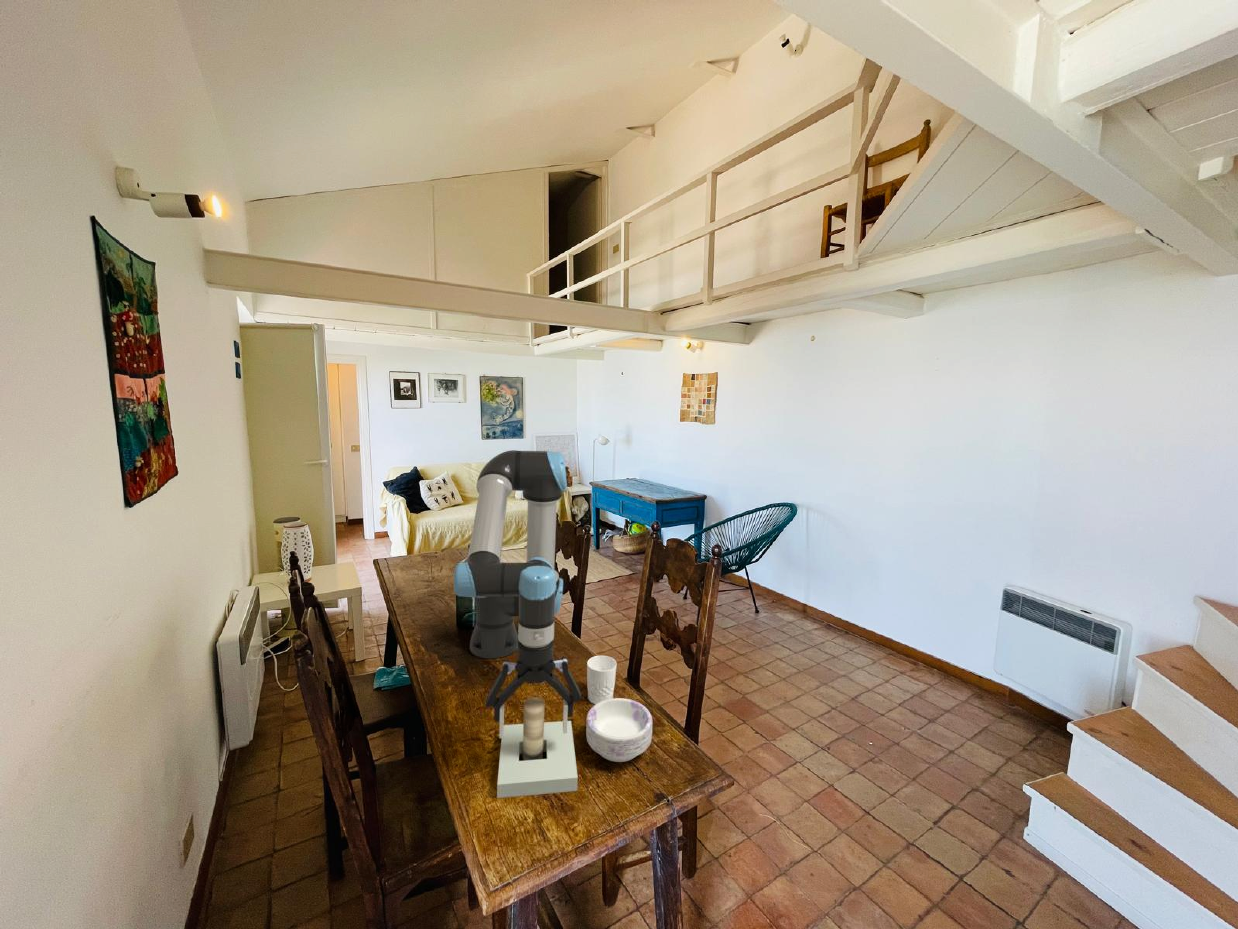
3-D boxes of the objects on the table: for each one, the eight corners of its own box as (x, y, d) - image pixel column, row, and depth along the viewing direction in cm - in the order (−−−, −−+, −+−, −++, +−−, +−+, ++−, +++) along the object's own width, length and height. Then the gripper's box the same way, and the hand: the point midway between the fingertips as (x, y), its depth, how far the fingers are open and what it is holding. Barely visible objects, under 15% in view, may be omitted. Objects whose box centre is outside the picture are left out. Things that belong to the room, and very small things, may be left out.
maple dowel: (522, 755, 110) (523, 697, 108) (542, 754, 111) (544, 696, 109) (521, 771, 106) (523, 711, 104) (543, 769, 106) (545, 709, 105)
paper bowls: (574, 737, 117) (575, 706, 116) (629, 719, 124) (631, 690, 123) (604, 782, 104) (606, 747, 103) (663, 759, 111) (665, 726, 110)
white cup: (601, 685, 138) (602, 652, 137) (620, 698, 133) (622, 664, 132) (579, 696, 133) (581, 662, 132) (599, 710, 127) (601, 674, 126)
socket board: (502, 737, 116) (502, 725, 115) (570, 732, 119) (571, 720, 118) (497, 798, 98) (497, 784, 98) (577, 790, 101) (577, 777, 101)
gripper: (473, 651, 99) (472, 748, 102) (596, 646, 103) (592, 739, 106) (477, 633, 106) (476, 724, 109) (592, 629, 110) (588, 717, 113)
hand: (533, 732), depth 107 cm, fingers open, 13 cm apart
